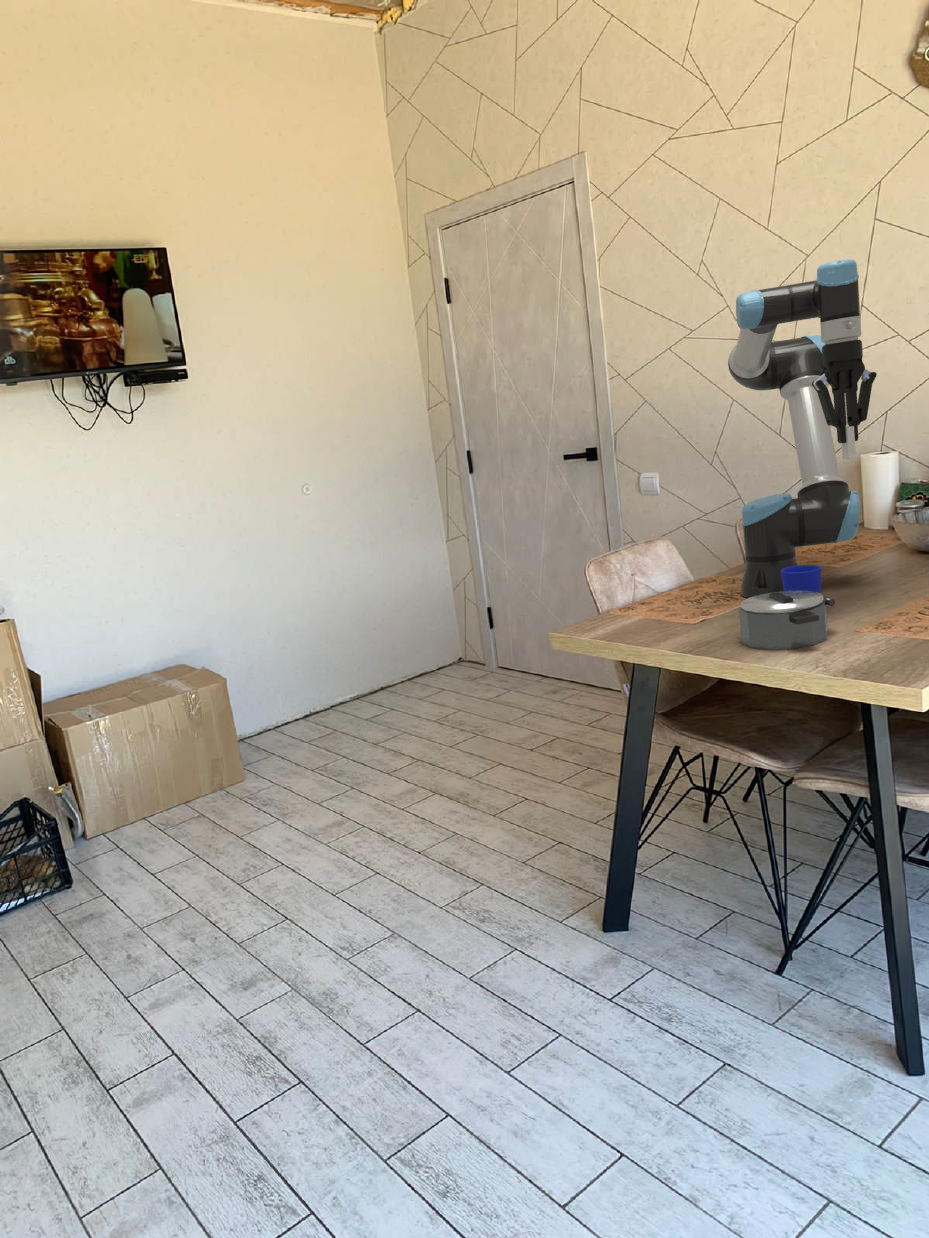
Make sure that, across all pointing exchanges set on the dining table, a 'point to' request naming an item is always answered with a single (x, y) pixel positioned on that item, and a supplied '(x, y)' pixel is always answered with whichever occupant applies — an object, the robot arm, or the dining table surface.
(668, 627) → the dining table surface
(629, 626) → the dining table surface
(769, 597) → the lid
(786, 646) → the pot
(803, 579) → the mug
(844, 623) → the dining table surface
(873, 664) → the dining table surface
